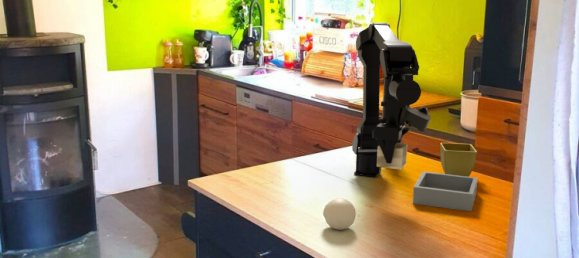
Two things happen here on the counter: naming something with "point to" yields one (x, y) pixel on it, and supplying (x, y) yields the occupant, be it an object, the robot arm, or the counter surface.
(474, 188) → the big crate
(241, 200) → the counter surface
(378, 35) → the robot arm
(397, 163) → the small crate
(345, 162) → the counter surface
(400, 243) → the counter surface
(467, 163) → the flower pot
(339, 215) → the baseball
